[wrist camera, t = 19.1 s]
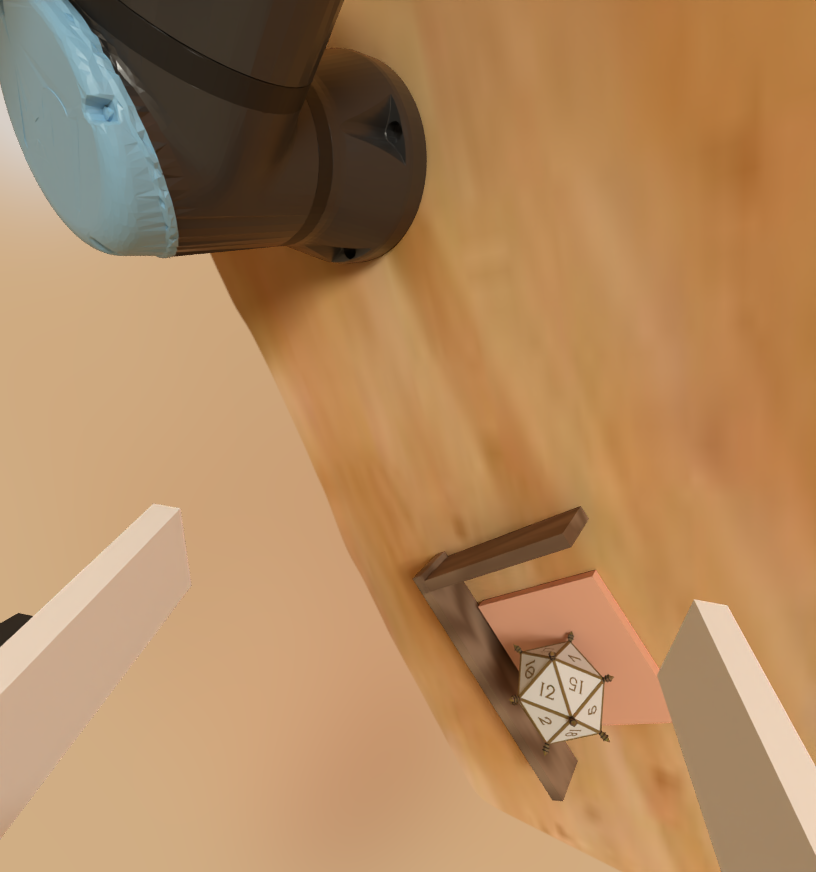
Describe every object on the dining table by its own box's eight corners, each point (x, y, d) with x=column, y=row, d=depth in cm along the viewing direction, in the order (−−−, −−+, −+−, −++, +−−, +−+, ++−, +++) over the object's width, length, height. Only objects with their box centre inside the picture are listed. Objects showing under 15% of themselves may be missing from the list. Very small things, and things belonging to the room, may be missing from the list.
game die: (595, 650, 48) (572, 766, 44) (511, 616, 48) (481, 728, 44) (645, 649, 40) (623, 791, 36) (544, 607, 40) (510, 743, 36)
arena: (436, 554, 52) (412, 578, 48) (576, 500, 41) (558, 526, 37) (567, 761, 51) (552, 800, 48) (745, 763, 40) (742, 814, 37)
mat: (482, 600, 50) (477, 606, 50) (595, 569, 42) (592, 576, 41) (557, 719, 50) (554, 727, 49) (687, 712, 42) (685, 722, 41)
